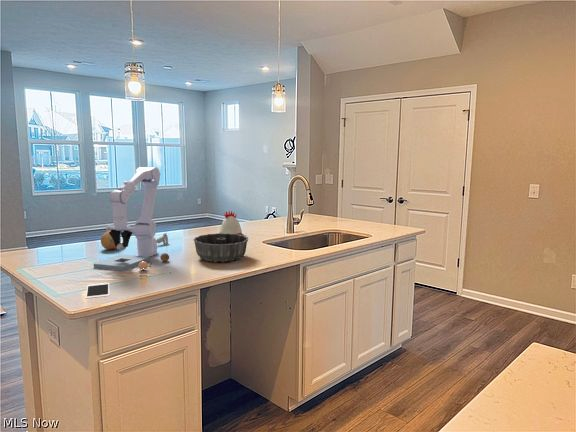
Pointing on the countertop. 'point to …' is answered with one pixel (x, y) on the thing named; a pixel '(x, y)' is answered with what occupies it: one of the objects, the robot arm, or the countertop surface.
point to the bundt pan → (220, 247)
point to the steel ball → (120, 246)
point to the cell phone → (97, 290)
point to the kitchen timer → (230, 225)
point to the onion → (108, 241)
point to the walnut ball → (164, 257)
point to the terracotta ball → (143, 265)
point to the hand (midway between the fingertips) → (121, 246)
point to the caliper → (163, 239)
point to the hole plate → (121, 262)
